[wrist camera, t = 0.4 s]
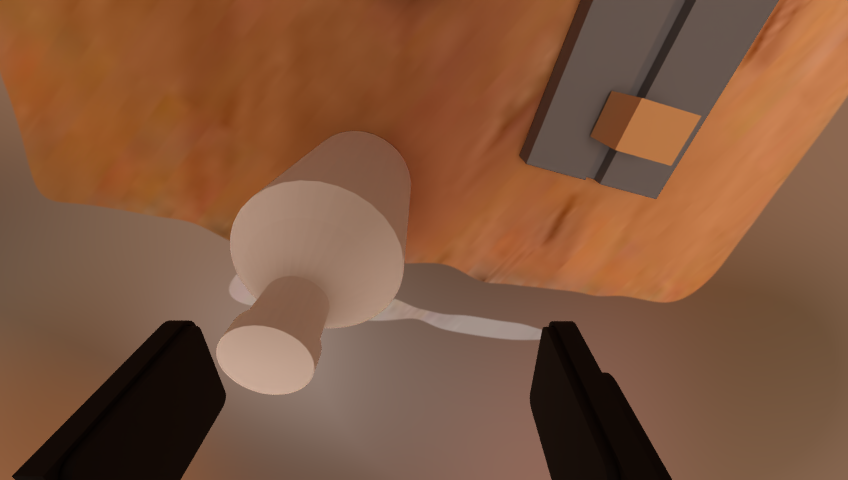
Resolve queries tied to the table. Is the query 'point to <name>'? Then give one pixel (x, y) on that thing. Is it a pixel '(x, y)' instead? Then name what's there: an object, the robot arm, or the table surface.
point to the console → (637, 79)
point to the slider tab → (644, 127)
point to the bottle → (316, 257)
